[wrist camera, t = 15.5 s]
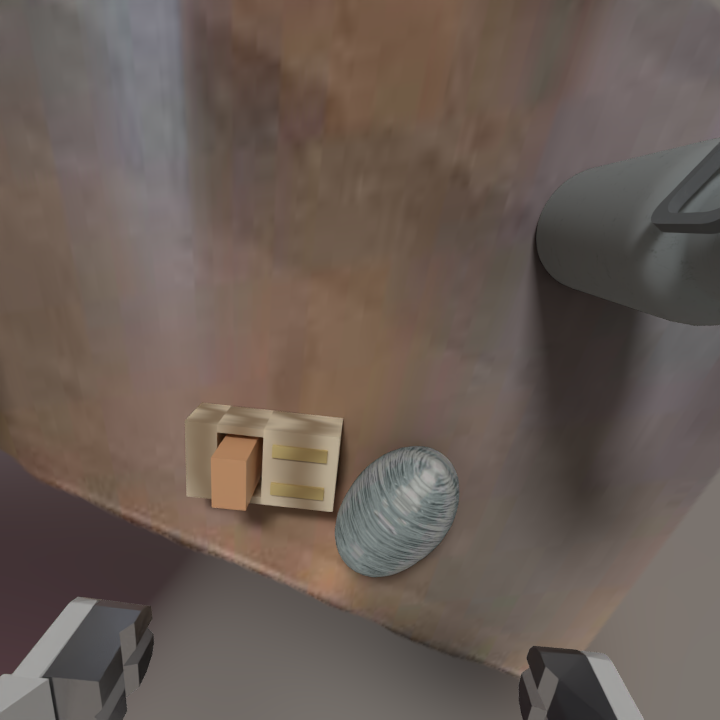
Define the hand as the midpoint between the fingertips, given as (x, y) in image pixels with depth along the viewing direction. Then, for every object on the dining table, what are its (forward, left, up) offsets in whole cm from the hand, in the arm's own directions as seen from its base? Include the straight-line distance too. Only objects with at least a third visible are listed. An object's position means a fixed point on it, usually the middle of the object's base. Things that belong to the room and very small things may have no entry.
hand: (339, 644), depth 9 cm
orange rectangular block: (-10, -14, -31) cm, 36 cm away
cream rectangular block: (-8, -14, -31) cm, 35 cm away
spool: (+5, -17, -31) cm, 36 cm away
